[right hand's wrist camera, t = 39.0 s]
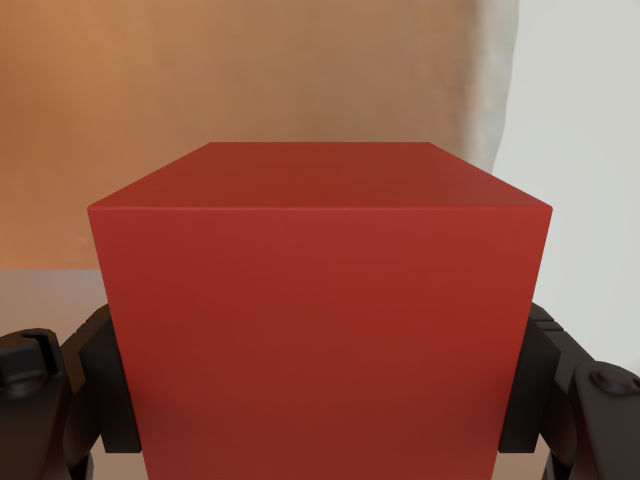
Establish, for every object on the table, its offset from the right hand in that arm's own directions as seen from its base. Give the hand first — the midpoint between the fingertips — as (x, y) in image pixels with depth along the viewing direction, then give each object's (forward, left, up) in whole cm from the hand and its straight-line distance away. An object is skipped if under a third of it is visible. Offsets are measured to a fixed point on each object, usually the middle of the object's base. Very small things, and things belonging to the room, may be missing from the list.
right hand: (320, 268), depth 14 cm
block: (0, 0, -2) cm, 2 cm away
